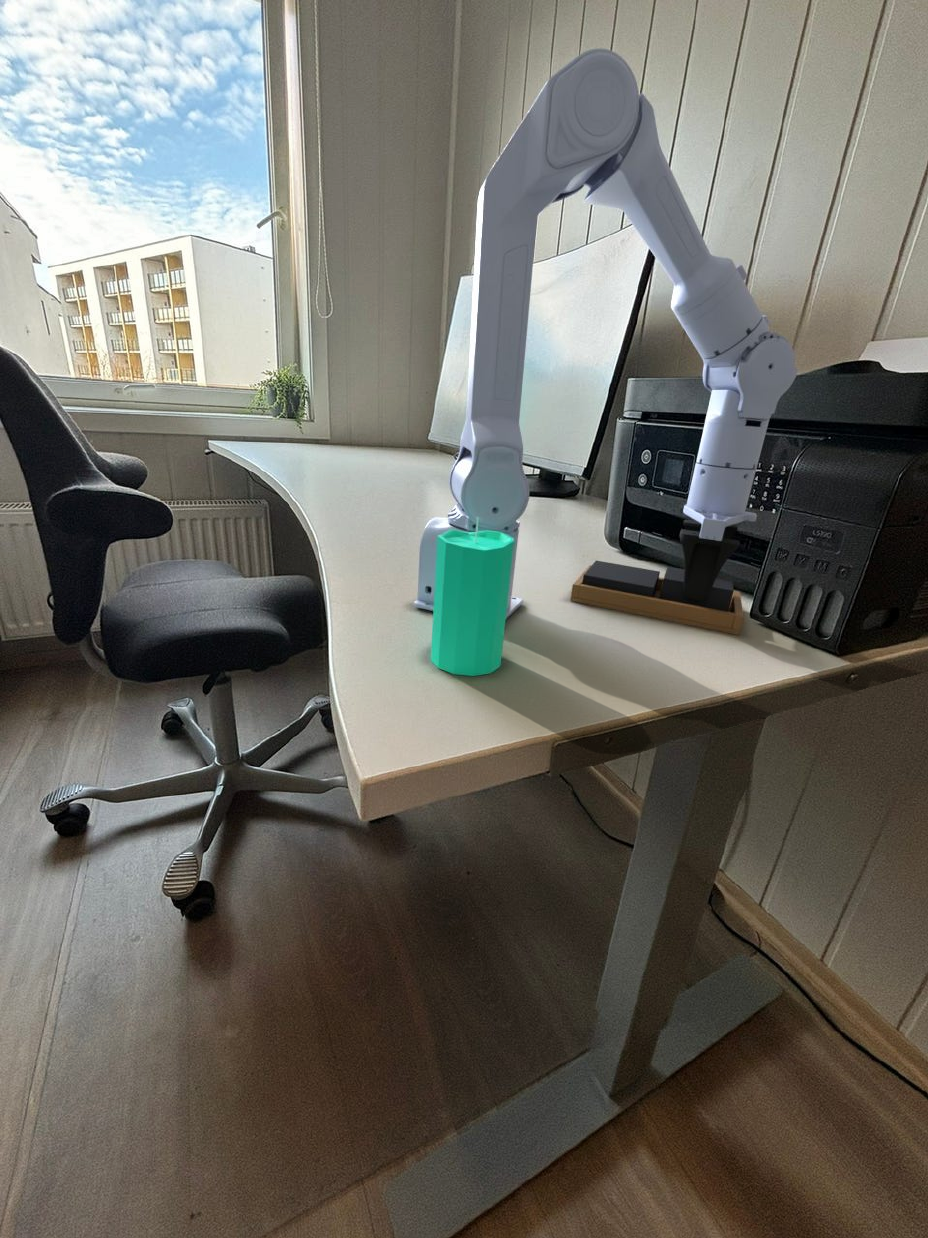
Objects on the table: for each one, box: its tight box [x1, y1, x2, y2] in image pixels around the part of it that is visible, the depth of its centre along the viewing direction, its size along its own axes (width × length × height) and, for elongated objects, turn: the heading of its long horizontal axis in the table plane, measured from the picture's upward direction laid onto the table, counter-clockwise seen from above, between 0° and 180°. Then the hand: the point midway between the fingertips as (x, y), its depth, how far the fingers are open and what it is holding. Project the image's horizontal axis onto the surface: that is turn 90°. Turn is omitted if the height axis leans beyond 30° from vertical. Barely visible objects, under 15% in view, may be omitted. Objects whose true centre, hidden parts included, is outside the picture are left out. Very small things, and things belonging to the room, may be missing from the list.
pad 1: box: [582, 559, 661, 598], centre depth 64 cm, size 8×7×2 cm
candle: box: [430, 517, 514, 677], centre depth 44 cm, size 6×6×12 cm
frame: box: [569, 564, 745, 636], centre depth 63 cm, size 18×10×2 cm, turn 66°
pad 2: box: [659, 566, 735, 612], centre depth 61 cm, size 7×6×3 cm
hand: (694, 591), depth 61 cm, fingers closed on pad 2, 5 cm apart
